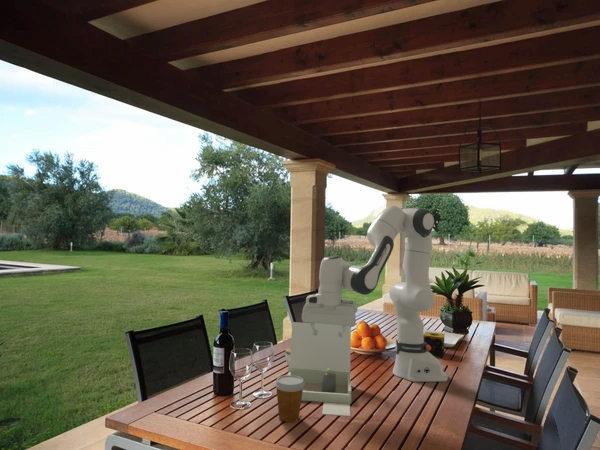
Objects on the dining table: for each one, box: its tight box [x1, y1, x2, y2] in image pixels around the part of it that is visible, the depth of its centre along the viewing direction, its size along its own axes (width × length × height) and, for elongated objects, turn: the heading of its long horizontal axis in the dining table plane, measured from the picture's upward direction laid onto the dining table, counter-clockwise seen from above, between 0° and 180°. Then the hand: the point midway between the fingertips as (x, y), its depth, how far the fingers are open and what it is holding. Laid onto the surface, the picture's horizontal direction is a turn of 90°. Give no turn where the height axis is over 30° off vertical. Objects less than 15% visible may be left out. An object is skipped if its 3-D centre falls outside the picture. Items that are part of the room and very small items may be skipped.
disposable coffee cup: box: [274, 374, 305, 423], centre depth 127 cm, size 10×10×12 cm
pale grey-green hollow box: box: [287, 321, 352, 405], centre depth 151 cm, size 24×25×23 cm
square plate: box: [423, 329, 465, 348], centre depth 230 cm, size 27×27×4 cm
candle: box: [423, 332, 445, 358], centre depth 204 cm, size 10×10×10 cm
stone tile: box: [321, 402, 351, 417], centre depth 132 cm, size 9×9×1 cm
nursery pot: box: [322, 368, 336, 393], centre depth 146 cm, size 5×5×9 cm
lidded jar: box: [284, 346, 291, 366], centre depth 177 cm, size 11×11×9 cm
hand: (327, 336), depth 148 cm, fingers open, 8 cm apart
